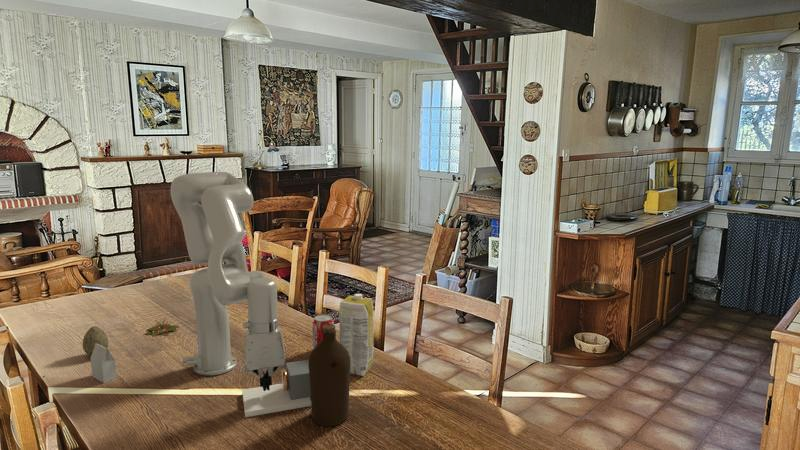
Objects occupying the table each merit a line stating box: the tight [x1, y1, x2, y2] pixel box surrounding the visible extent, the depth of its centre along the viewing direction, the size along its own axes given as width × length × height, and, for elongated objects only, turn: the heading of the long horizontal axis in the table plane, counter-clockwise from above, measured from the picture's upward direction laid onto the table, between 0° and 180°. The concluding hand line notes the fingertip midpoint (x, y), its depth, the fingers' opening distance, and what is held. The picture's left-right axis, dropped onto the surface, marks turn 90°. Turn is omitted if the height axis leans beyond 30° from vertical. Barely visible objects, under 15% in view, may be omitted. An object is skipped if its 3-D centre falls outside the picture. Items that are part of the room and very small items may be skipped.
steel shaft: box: [281, 369, 289, 391], centre depth 144 cm, size 14×6×6 cm, turn 110°
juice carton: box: [338, 293, 374, 377], centre depth 158 cm, size 9×8×24 cm
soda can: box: [312, 313, 335, 350], centre depth 171 cm, size 7×7×12 cm
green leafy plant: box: [144, 318, 179, 337], centre depth 188 cm, size 12×12×5 cm
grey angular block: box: [90, 343, 118, 384], centre depth 153 cm, size 4×7×10 cm, turn 55°
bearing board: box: [242, 359, 312, 418], centre depth 143 cm, size 27×12×9 cm, turn 110°
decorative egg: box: [82, 326, 109, 357], centre depth 167 cm, size 7×7×10 cm
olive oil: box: [308, 324, 351, 427], centre depth 132 cm, size 11×11×25 cm
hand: (266, 388), depth 141 cm, fingers closed
